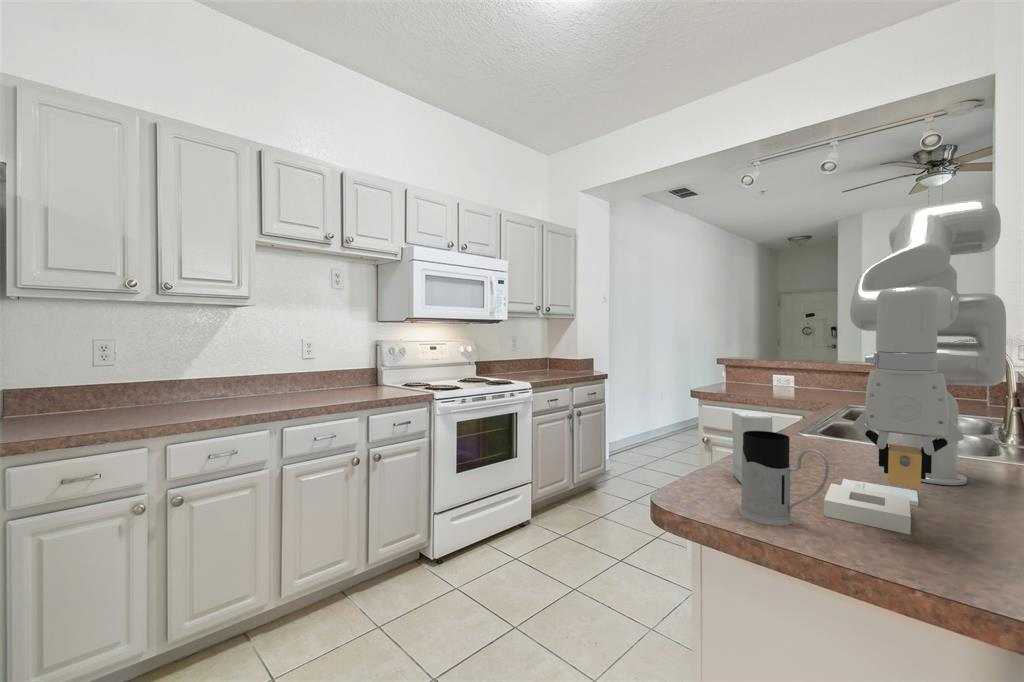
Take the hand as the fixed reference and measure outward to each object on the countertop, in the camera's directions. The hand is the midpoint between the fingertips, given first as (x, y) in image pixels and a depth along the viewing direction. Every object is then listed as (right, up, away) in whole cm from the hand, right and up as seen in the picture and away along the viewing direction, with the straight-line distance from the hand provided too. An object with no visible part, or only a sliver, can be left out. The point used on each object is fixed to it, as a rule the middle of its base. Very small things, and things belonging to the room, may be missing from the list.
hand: (904, 472), depth 74 cm
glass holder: (-16, -11, +7) cm, 21 cm away
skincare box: (-10, -11, +29) cm, 32 cm away
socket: (+2, -11, +10) cm, 15 cm away
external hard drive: (+13, -11, +21) cm, 27 cm away
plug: (0, -1, 0) cm, 2 cm away
